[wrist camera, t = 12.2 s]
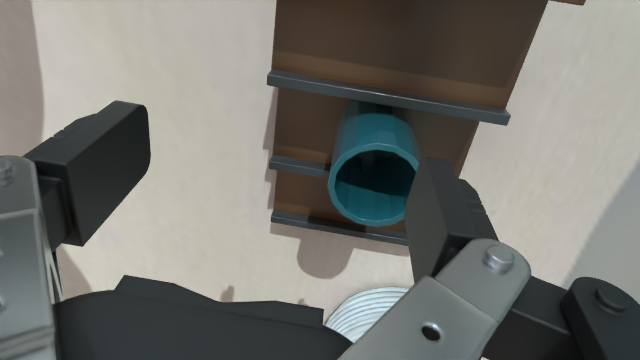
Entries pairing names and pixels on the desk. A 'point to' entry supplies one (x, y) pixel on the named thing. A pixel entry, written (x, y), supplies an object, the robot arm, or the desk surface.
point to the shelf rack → (387, 85)
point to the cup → (373, 163)
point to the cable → (363, 311)
